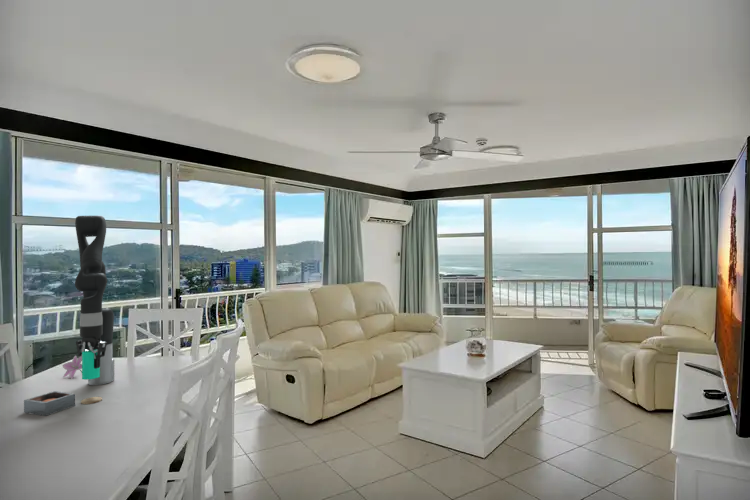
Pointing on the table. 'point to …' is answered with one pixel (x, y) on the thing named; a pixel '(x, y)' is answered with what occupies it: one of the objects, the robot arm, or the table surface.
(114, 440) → the table surface
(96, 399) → the coaster
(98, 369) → the candle
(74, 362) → the lily
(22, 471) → the table surface
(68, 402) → the gray open box
